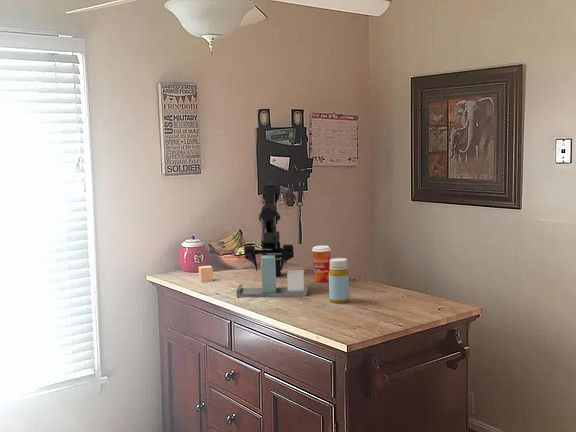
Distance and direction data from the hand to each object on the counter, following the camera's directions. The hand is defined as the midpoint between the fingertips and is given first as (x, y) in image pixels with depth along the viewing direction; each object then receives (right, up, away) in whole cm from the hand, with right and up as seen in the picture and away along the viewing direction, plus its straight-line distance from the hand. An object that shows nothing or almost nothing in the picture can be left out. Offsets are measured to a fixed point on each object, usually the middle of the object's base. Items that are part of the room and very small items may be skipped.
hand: (268, 270), depth 259 cm
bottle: (+25, -10, -12) cm, 30 cm away
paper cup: (+21, -6, +22) cm, 31 cm away
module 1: (-27, -7, +29) cm, 40 cm away
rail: (+1, -9, +3) cm, 9 cm away
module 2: (0, -8, +2) cm, 8 cm away
